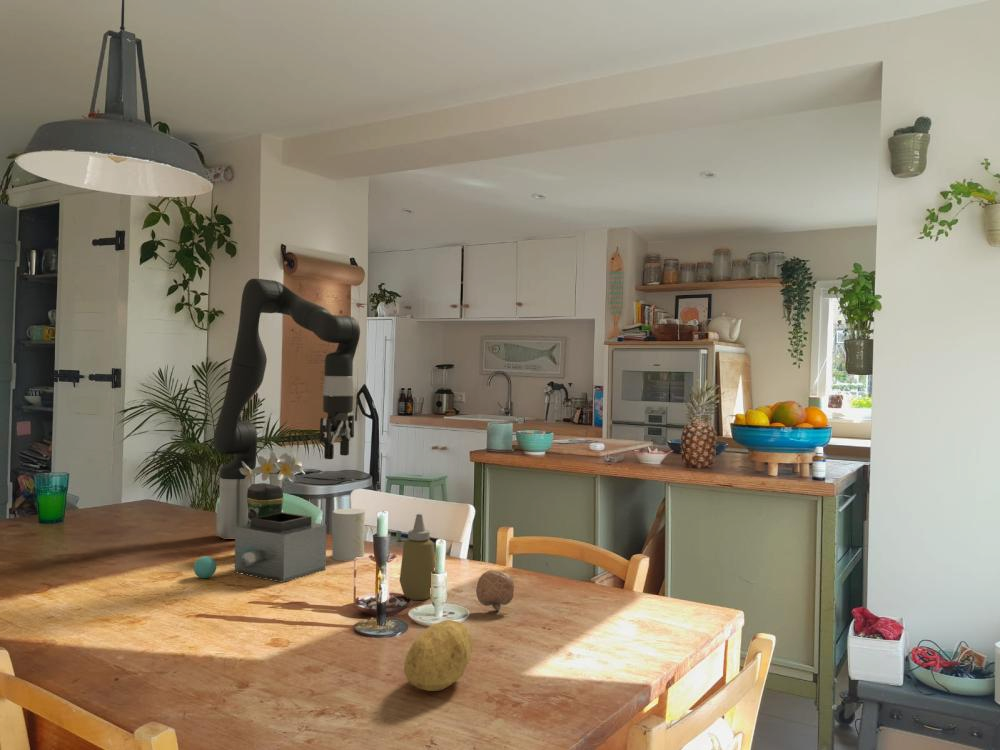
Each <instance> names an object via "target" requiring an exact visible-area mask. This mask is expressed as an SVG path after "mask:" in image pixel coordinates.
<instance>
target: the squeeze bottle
mask: <svg viewBox="0 0 1000 750" xmlns="http://www.w3.org/2000/svg"><path fill="white" fill-rule="evenodd" d="M407 532H408V533H407V535H408V536H407V538H408V539H407V540H406V541H404V542H403V546H402V547H403V549H402V557H401V565H400V573H399V584H400V586H401V591H402V594H403V596H405V597H407V598H406V599H408V598H409V599H408V600H414V601H421V600H427V599H430V598H431V597H430V588H431V572H433V571H434V568H435V566H436V554H435V544H434V542H433V540H431V539H430V536H431V535H430V534H431V533H430V530H428V529H425V523H424V517H423V514H422V513H417V514H416V515H415V521H414V524H413V529H409V530H408V531H407ZM405 597H404V598H405Z"/></svg>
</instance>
